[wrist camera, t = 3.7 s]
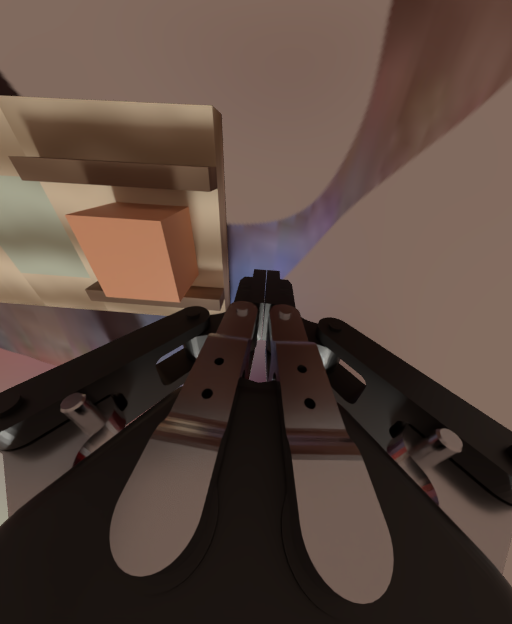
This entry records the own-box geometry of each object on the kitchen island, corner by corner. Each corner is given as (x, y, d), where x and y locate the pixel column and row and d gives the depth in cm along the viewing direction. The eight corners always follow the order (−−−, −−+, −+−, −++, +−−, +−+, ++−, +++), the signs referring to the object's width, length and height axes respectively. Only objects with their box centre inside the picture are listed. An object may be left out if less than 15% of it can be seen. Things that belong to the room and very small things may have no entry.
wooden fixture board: (-258, 90, 14) (-437, 66, 11) (221, 114, 13) (202, 96, 9) (-53, 284, 24) (-111, 305, 20) (230, 306, 23) (222, 333, 19)
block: (115, 201, 14) (64, 214, 11) (188, 206, 14) (160, 221, 11) (139, 270, 18) (106, 296, 14) (198, 274, 18) (179, 302, 14)
